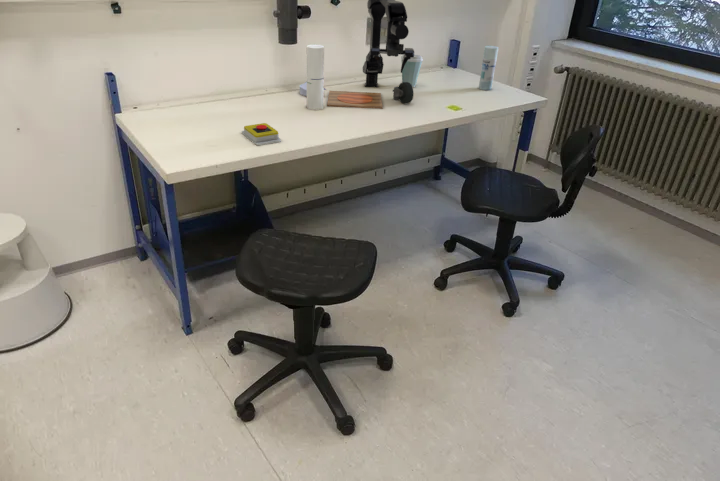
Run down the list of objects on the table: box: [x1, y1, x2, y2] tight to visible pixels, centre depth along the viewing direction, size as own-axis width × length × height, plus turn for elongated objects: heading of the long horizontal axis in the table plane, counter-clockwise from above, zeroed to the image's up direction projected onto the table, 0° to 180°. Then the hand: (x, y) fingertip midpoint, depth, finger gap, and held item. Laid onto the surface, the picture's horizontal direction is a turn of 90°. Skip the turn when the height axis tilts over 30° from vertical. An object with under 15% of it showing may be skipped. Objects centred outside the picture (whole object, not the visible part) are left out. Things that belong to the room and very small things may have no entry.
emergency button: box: [241, 122, 281, 147], centre depth 194 cm, size 9×4×15 cm
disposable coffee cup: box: [400, 54, 424, 88], centre depth 262 cm, size 11×11×15 cm
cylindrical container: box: [305, 43, 325, 111], centre depth 223 cm, size 7×7×25 cm
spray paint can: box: [478, 45, 499, 91], centre depth 263 cm, size 6×6×20 cm
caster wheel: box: [392, 81, 414, 104], centre depth 240 cm, size 6×10×15 cm
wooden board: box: [326, 90, 384, 110], centre depth 240 cm, size 22×24×1 cm
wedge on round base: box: [299, 80, 327, 97], centre depth 244 cm, size 9×7×13 cm
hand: (390, 72), depth 234 cm, fingers open, 9 cm apart
